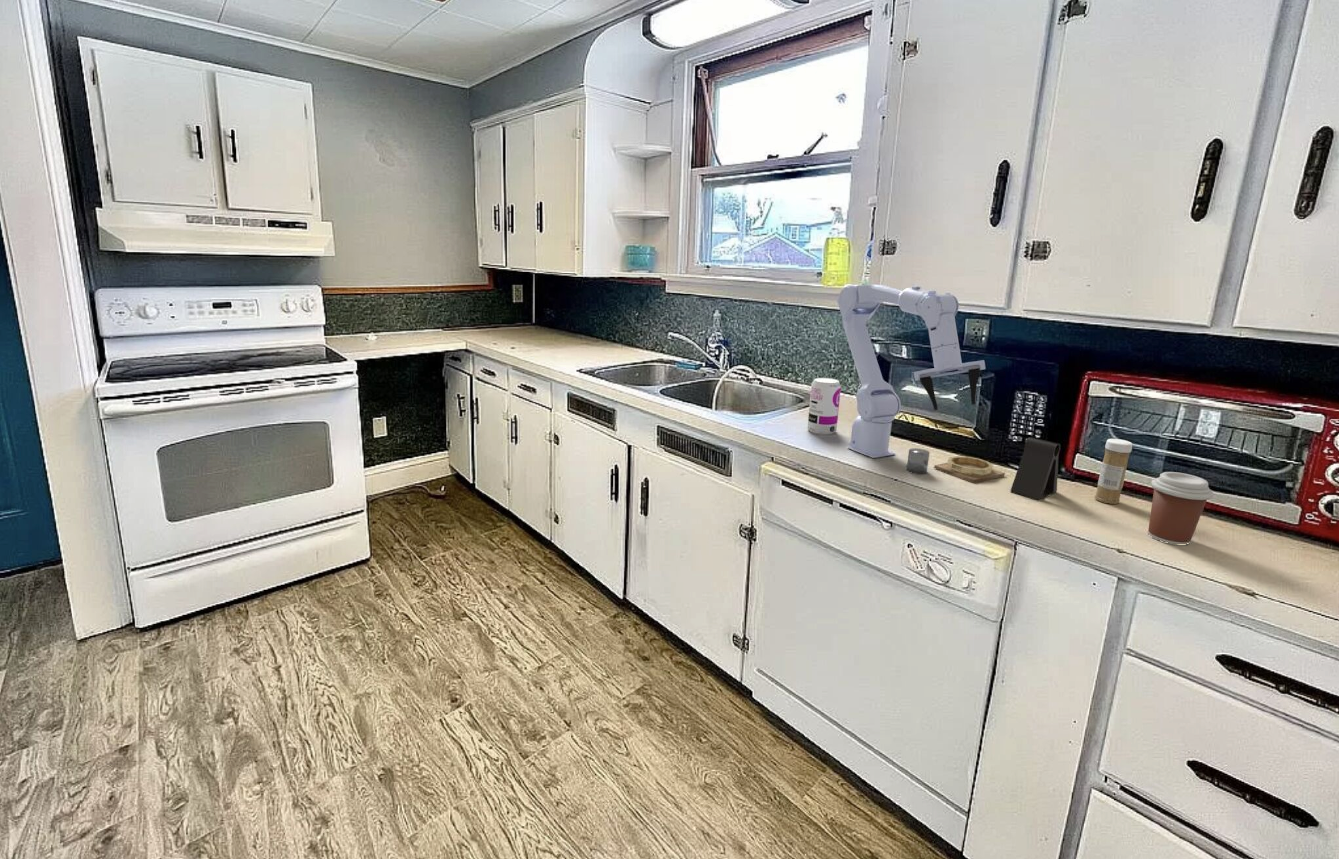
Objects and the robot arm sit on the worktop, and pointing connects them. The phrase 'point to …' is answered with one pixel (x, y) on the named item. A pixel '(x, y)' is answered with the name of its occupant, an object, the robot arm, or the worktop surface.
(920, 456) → the cylinder
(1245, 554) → the worktop surface
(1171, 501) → the coffee cup
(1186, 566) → the worktop surface
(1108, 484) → the sprinkles bottle
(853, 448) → the robot arm
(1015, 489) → the phone stand
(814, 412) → the supplement can
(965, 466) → the ring plate
